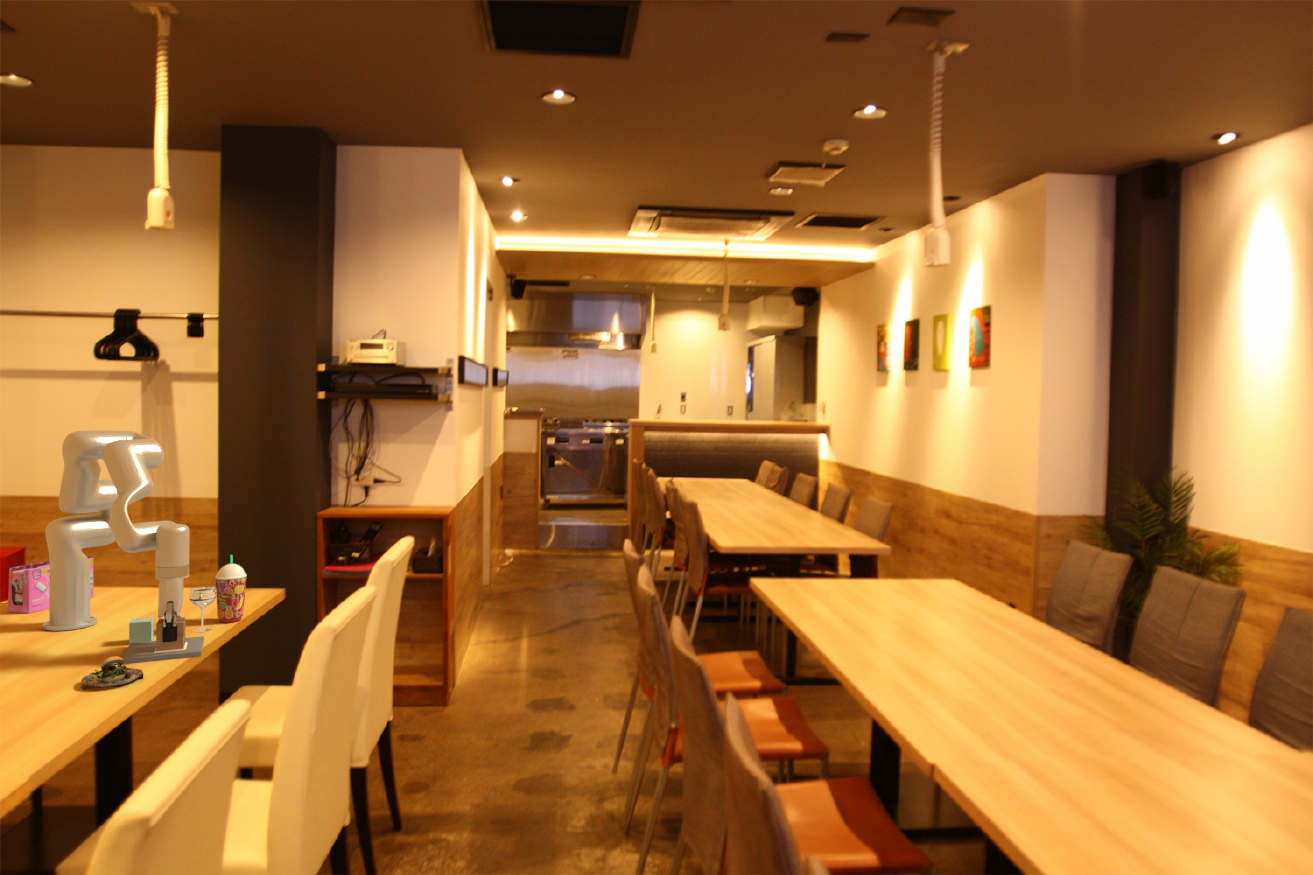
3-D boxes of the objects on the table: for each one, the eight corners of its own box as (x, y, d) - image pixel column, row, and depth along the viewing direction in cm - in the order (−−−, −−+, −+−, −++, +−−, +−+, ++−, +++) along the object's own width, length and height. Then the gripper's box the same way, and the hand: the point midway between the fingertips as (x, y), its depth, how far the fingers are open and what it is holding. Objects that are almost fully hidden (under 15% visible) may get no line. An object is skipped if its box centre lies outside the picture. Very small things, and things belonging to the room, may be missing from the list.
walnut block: (158, 645, 205) (158, 618, 205) (185, 642, 208) (185, 616, 207) (156, 651, 199) (156, 624, 199) (183, 649, 202) (183, 622, 202)
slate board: (130, 647, 206) (130, 642, 206) (203, 640, 214) (203, 635, 214) (121, 664, 193) (121, 658, 193) (200, 656, 201) (200, 651, 201)
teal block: (131, 640, 213) (132, 618, 213) (153, 638, 215) (153, 616, 215) (129, 645, 208) (129, 623, 208) (151, 643, 211) (151, 621, 211)
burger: (74, 694, 173) (74, 661, 173) (88, 677, 184) (88, 646, 183) (137, 688, 178) (138, 656, 178) (148, 672, 189) (148, 642, 188)
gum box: (24, 615, 234) (25, 570, 234) (2, 613, 235) (2, 569, 235) (94, 597, 258) (94, 556, 257) (73, 595, 259) (73, 555, 259)
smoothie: (208, 622, 232) (209, 555, 232) (232, 615, 240) (233, 551, 240) (228, 625, 229) (229, 558, 229) (252, 619, 237) (253, 554, 237)
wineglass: (219, 630, 225) (219, 588, 224) (192, 634, 220) (193, 592, 219) (211, 625, 229) (211, 584, 229) (185, 629, 224) (185, 588, 224)
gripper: (158, 566, 209) (158, 629, 209) (151, 579, 194) (150, 647, 194) (191, 564, 212) (190, 626, 213) (186, 577, 197) (185, 644, 197)
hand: (171, 636), depth 203 cm, fingers open, 9 cm apart
